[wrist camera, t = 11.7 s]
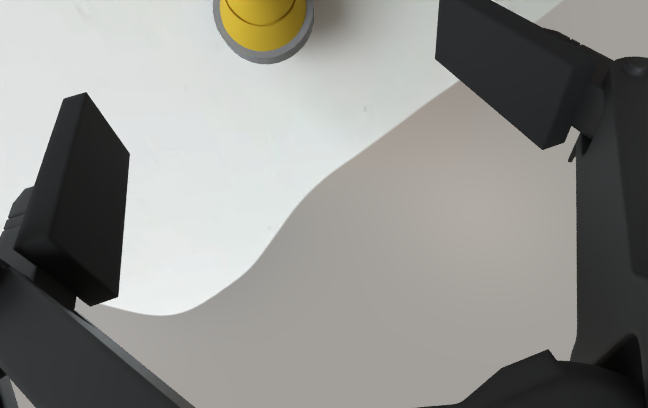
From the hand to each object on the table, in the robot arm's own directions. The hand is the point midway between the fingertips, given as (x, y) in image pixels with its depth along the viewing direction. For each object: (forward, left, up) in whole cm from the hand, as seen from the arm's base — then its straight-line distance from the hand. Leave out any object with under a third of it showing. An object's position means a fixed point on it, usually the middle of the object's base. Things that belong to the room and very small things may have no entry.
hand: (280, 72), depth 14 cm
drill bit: (0, 0, -11) cm, 11 cm away
